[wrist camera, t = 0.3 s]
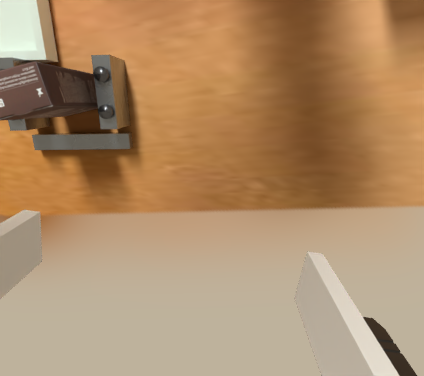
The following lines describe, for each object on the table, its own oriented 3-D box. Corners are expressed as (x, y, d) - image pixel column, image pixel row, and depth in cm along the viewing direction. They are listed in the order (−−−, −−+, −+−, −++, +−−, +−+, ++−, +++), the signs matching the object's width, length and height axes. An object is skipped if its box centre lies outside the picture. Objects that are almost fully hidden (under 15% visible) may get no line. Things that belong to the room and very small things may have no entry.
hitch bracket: (23, 62, 37) (-10, 57, 32) (124, 60, 37) (107, 54, 31) (40, 148, 41) (12, 156, 35) (132, 147, 40) (118, 155, 35)
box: (94, 71, 37) (36, 59, 26) (105, 107, 39) (55, 110, 27) (50, 82, 38) (-25, 75, 26) (63, 117, 39) (-4, 124, 28)
